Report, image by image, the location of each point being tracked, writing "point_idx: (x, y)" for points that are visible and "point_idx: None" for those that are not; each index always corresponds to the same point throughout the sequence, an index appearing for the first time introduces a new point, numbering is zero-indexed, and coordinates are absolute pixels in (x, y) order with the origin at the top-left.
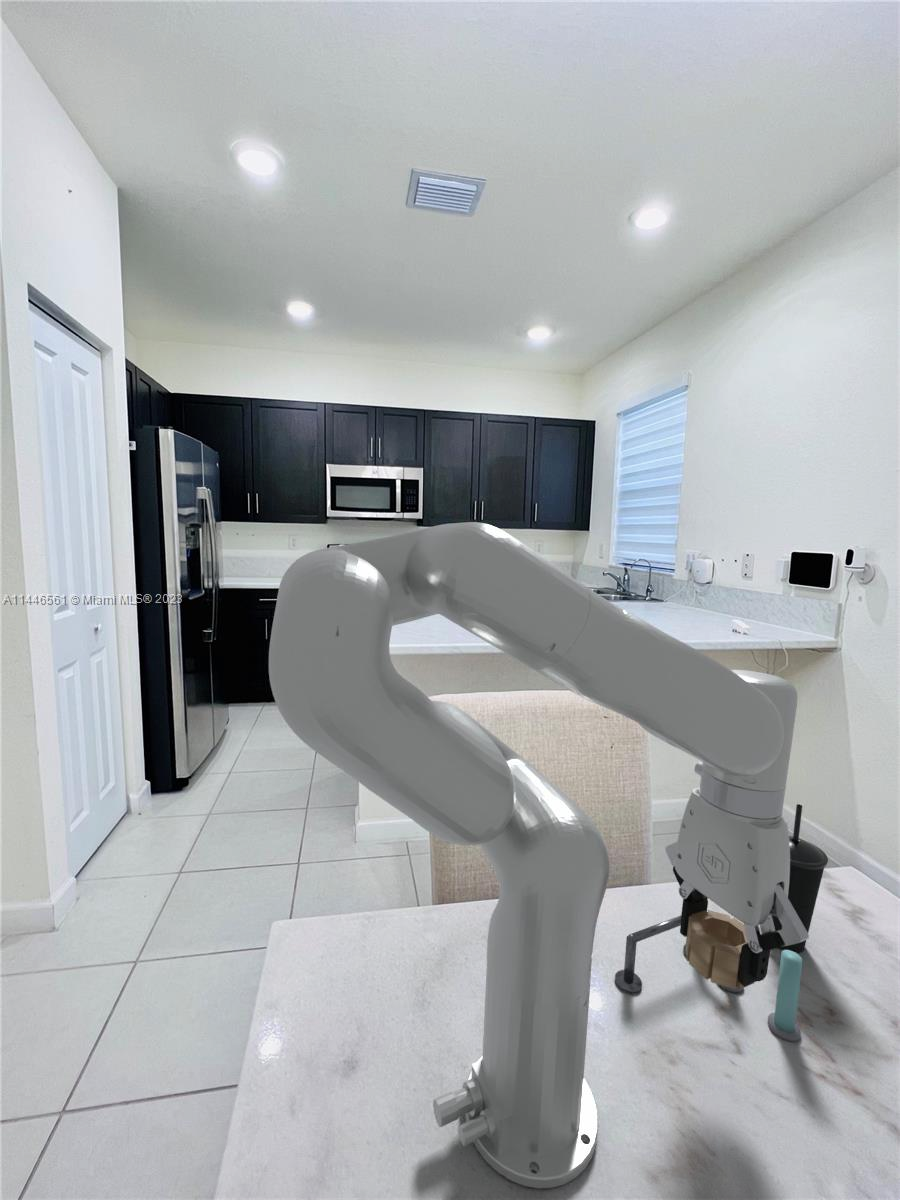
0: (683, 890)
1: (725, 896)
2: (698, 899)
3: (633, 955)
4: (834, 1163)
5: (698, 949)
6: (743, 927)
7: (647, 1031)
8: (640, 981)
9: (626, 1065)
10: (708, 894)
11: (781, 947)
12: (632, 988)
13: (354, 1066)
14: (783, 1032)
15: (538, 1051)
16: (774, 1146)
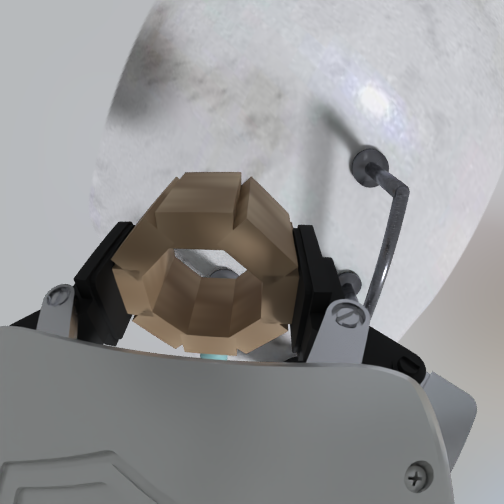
0: (350, 323)
1: (35, 396)
2: (305, 335)
3: (383, 181)
4: (108, 195)
5: (206, 193)
6: (201, 347)
7: (300, 125)
8: (361, 182)
9: (274, 60)
10: (141, 373)
11: (293, 359)
12: (359, 162)
13: None
14: (218, 277)
15: None
16: (132, 153)
